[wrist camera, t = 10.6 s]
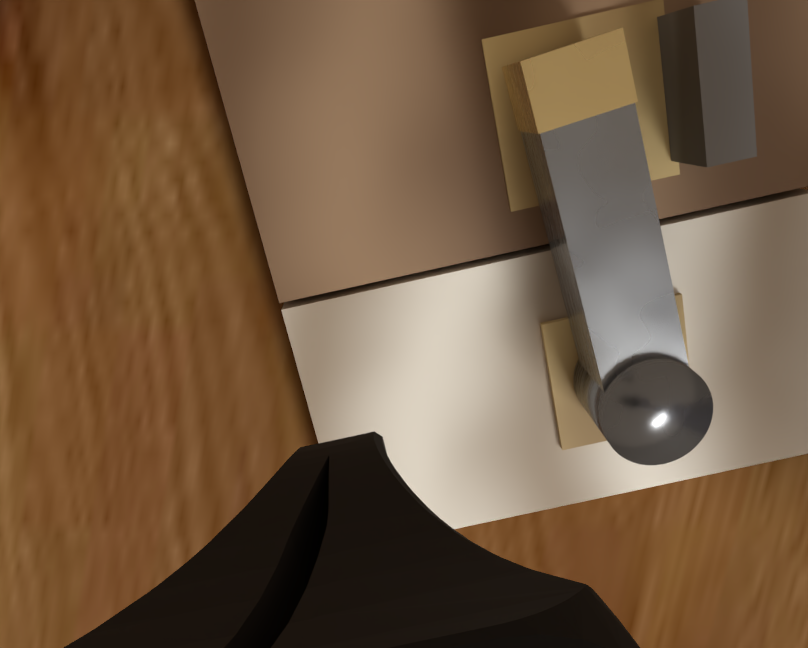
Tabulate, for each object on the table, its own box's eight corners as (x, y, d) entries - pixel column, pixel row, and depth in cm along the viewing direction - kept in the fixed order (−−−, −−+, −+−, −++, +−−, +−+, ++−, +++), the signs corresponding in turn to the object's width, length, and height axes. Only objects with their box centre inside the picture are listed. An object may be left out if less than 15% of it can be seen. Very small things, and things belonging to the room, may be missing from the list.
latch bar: (678, 404, 21) (721, 446, 18) (585, 432, 21) (616, 478, 18) (598, 34, 18) (638, 22, 15) (490, 70, 18) (511, 64, 15)
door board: (778, -171, 18) (864, -229, 15) (807, 435, 23) (875, 486, 20) (192, -35, 18) (155, -65, 15) (349, 533, 23) (346, 598, 20)
